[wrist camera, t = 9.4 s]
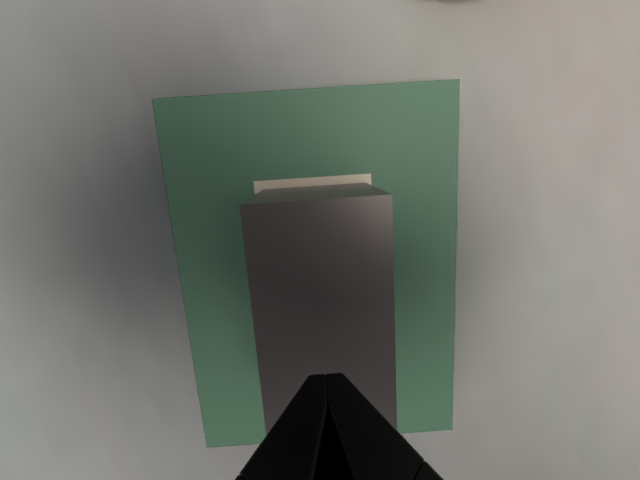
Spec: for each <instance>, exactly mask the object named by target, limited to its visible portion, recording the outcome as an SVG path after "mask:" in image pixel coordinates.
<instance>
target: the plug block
mask: <svg viewBox="0 0 640 480" xmlns="http://www.w3.org/2000/svg"><path fill="white" fill-rule="evenodd" d="M239 206H240V215H241V224H242V232H243V241H244V249H245V258H246V267H247V275H248V284H249V293H250V301H251V310H252V318H253V327H254V336H255V344H256V353H257V361H258V370H259V379H260V387H261V396H262V404H263V413H264V422H265V430H266V435H267V434H268V432H269V431H270V430H271V428H272V427H273V425H274V424H275V423H276V421H277V420H278V418H279V417H280V415H281V414H282V413H283V411H284V410H285V408H286V407H287V406H288V404H289V403H290V401H291V400H292V398H293V397H294V396H295V394H296V393H297V391H298V390H299V389H300V387H301V386H302V384H303V383H304V381H305V380H306V379H307V377H308V376H309V375H315V374H325V375H326V374H329V373H343V374H344V375H345V376H346V377H347V378H348V379H349V380H350V381H351V382H352V383H353V384H354V385H355V386H356V388H357V389H358V390H359V391H360V392H361V393H362V394H363V395H364V396H365V397H366V398H367V399H368V400H369V401H370V402H371V403H372V405H373V406H374V407H375V408H376V409H377V410H378V411H379V412H380V413H381V414H382V415H383V416H384V417H385V418H386V419H387V420H388V422H389V423H390V424H391V425H392V426H393V427H394V428H395V429H396V430H397V398H396V350H395V302H394V253H393V205H392V194H390V193H388V192H386V191H383V190H381V189H379V188H377V187H374V186H372V185H370V184H368V183H350V184H335V185H321V186H306V187H291V188H277V189H263V190H261V191H260V192H258V193H257V194H255V195H254V196H252V197H251V198H249V199H248V200H246V201H245V202H243V203H241V204H240V205H239Z"/></svg>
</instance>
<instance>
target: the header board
mask: <svg viewBox="0 0 640 480" xmlns="http://www.w3.org/2000/svg"><path fill="white" fill-rule="evenodd" d="M459 84H460V79H453V80H438V81H422V82H406V83H391V84H375V85H359V86H344V87H328V88H312V89H297V90H281V91H265V92H250V93H234V94H219V95H203V96H187V97H172V98H156V99H152V104H153V110H154V117H155V123H156V129H157V136H158V142H159V148H160V155H161V161H162V167H163V173H164V180H165V186H166V192H167V199H168V205H169V211H170V218H171V224H172V230H173V237H174V243H175V249H176V255H177V262H178V268H179V274H180V281H181V287H182V293H183V300H184V306H185V312H186V318H187V325H188V331H189V337H190V344H191V350H192V356H193V363H194V369H195V375H196V381H197V388H198V394H199V400H200V407H201V413H202V419H203V426H204V432H205V438H206V445H207V448H208V447H222V446H236V445H249V444H261V442H262V441H263V439H264V438H265V437H266V430H265V422H264V413H263V404H262V396H261V387H260V379H259V370H258V361H257V353H256V344H255V336H254V327H253V318H252V310H251V301H250V293H249V284H248V275H247V267H246V258H245V249H244V241H243V232H242V224H241V215H240V206H239V205H240V204H241V203H243V202H245V201H246V200H248V199H249V198H251V197H252V196H254V195H255V194H257V193H258V192H260V191H261V190H263V189H277V188H291V187H306V186H321V185H335V184H350V183H368V184H370V185H372V186H374V187H377V188H379V189H381V190H383V191H386V192H388V193H390V194H392V205H393V253H394V302H395V350H396V398H397V431H398V432H399V433H412V432H426V431H440V430H452V419H453V371H454V324H455V276H456V228H457V180H458V132H459Z"/></svg>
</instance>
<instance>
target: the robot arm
mask: <svg viewBox="0 0 640 480" xmlns="http://www.w3.org/2000/svg"><path fill="white" fill-rule="evenodd" d="M235 480H444V479H443V478H442V477H441V476H440V475H439V474H438V473H437V472H436V471H435V470H434V469H433V468H432V467H431V466H430V465H429V464H428V463H427V462H426V461H425V462H424V459H423V458H422V457H421V455H420V454H419V453H418V452H417V451H416V450H415V449H414V448H413V447H412V446H411V445H410V444H409V443H408V442H407V441H406V440H405V438H404V437H403V436H402V435H401V434H400V433H399V432H398V431H397V430H396V429H395V428H394V427H393V426H392V425H391V424H390V423H389V422H388V420H387V419H386V418H385V417H384V416H383V415H382V414H381V413H380V412H379V411H378V410H377V409H376V408H375V407H374V406H373V405H372V403H371V402H370V401H369V400H368V399H367V398H366V397H365V396H364V395H363V394H362V393H361V392H360V391H359V390H358V389H357V388H356V386H355V385H354V384H353V383H352V382H351V381H350V380H349V379H348V378H347V377H346V376H345V375H344V374H343V373H329V374H326V375H325V374H315V375H309V376H308V377H307V379H306V380H305V381H304V383H303V384H302V386H301V387H300V389H299V390H298V391H297V393H296V394H295V396H294V397H293V398H292V400H291V401H290V403H289V404H288V406H287V407H286V408H285V410H284V411H283V413H282V414H281V415H280V417H279V418H278V420H277V421H276V423H275V424H274V425H273V427H272V428H271V430H270V431H269V432H268V434H267V435H266V437H265V438H264V439H263V441H262V442H261V444H260V445H259V447H258V448H257V449H256V451H255V452H254V454H253V455H252V456H251V458H250V459H249V461H248V462H247V464H246V465H245V466H244V468H243V469H242V471H241V472H240V475H239V476H237V477H236V479H235Z"/></svg>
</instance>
